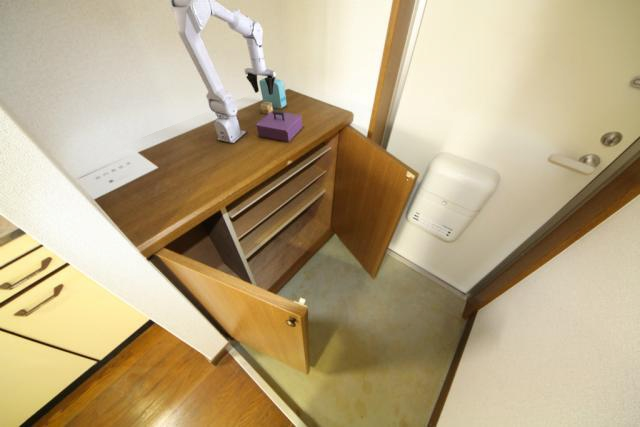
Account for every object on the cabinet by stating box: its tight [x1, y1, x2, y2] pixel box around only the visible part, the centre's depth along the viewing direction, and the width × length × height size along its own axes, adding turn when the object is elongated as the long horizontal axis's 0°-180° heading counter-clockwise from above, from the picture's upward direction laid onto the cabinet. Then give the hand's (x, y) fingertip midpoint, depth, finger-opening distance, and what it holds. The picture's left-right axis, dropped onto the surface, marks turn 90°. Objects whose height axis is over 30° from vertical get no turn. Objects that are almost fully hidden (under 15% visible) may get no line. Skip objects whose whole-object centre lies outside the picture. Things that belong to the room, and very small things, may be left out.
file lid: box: [255, 109, 303, 132], centre depth 91 cm, size 14×14×4 cm
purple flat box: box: [256, 117, 303, 143], centre depth 95 cm, size 13×14×5 cm
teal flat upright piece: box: [258, 77, 287, 110], centre depth 110 cm, size 12×4×12 cm, turn 59°
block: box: [259, 101, 274, 115], centre depth 108 cm, size 4×4×4 cm
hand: (264, 93), depth 102 cm, fingers open, 7 cm apart
